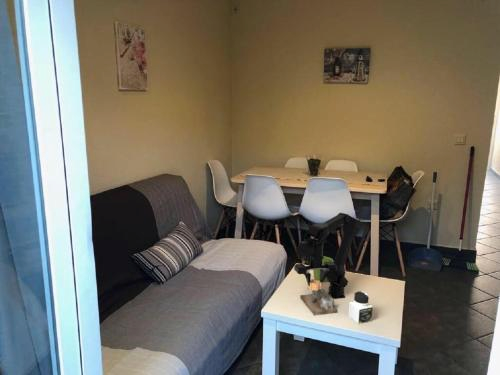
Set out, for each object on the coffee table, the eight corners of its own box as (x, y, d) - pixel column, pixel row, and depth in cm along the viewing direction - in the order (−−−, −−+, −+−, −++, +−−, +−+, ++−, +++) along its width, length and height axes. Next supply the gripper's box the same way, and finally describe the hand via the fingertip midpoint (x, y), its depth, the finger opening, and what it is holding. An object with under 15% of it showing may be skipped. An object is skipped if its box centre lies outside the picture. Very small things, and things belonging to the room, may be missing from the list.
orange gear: (317, 284, 191) (318, 278, 190) (322, 290, 185) (323, 284, 184) (306, 285, 189) (306, 279, 189) (311, 291, 184) (311, 284, 183)
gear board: (321, 295, 198) (322, 285, 197) (336, 312, 182) (337, 301, 181) (300, 298, 196) (300, 287, 194) (313, 315, 179) (314, 303, 178)
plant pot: (329, 275, 223) (330, 255, 221) (334, 284, 212) (335, 264, 209) (307, 275, 223) (308, 255, 220) (312, 284, 211) (313, 264, 209)
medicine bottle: (358, 324, 172) (360, 298, 170) (348, 316, 179) (349, 291, 177) (371, 321, 175) (374, 295, 173) (361, 313, 182) (363, 288, 179)
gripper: (327, 245, 194) (326, 276, 197) (290, 248, 189) (289, 279, 192) (338, 253, 183) (336, 286, 186) (299, 256, 179) (297, 289, 182)
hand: (314, 285), depth 187 cm, fingers closed on orange gear, 5 cm apart
